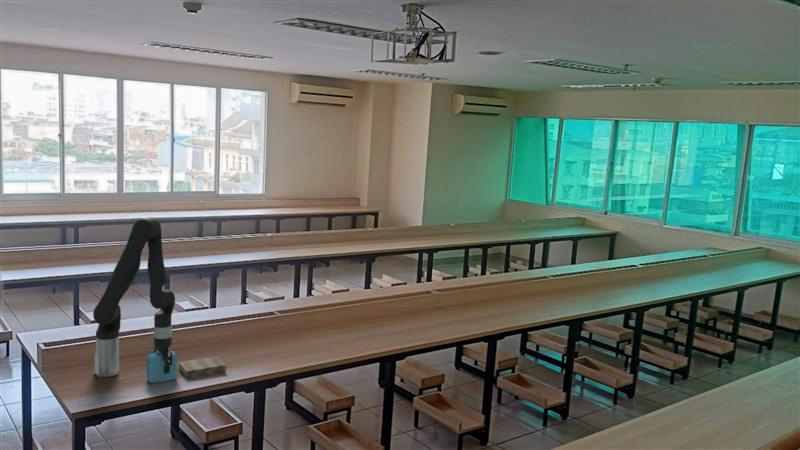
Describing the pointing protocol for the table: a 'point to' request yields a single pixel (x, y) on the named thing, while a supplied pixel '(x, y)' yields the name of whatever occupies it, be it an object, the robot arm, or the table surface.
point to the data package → (160, 368)
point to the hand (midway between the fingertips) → (162, 370)
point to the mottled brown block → (202, 367)
